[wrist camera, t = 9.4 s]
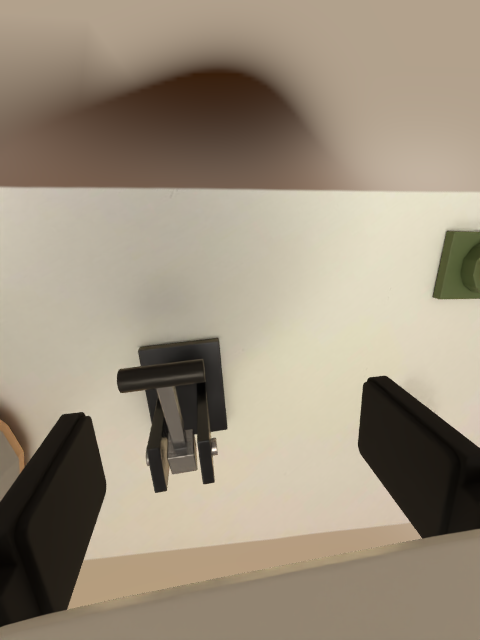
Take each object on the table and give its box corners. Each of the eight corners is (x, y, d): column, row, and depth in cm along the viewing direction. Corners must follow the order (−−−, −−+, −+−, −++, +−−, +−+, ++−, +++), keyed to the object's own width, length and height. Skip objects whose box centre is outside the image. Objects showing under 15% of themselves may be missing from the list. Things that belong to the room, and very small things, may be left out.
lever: (119, 359, 20) (113, 387, 18) (202, 349, 21) (204, 376, 19) (154, 451, 28) (152, 478, 26) (213, 442, 28) (216, 467, 26)
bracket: (139, 346, 34) (110, 412, 22) (218, 337, 35) (230, 395, 23) (155, 434, 38) (137, 531, 26) (226, 423, 39) (241, 512, 27)
